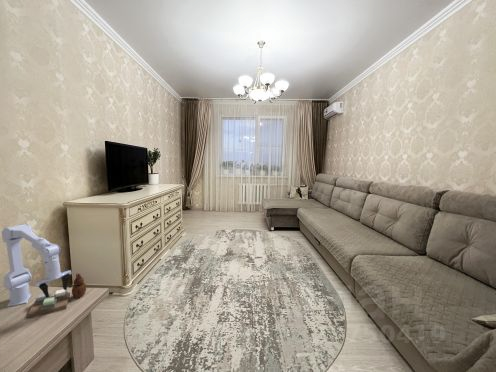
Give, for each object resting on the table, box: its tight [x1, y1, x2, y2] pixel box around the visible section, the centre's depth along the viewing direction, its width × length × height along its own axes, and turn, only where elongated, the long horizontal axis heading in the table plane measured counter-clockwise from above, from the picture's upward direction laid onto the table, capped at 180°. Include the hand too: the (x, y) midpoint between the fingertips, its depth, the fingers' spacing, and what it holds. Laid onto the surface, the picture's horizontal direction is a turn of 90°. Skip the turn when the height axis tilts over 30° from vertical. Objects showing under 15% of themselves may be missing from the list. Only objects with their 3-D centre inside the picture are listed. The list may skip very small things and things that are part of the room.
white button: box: [54, 288, 66, 297], centre depth 126 cm, size 4×4×2 cm
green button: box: [43, 297, 55, 306], centre depth 118 cm, size 4×4×2 cm
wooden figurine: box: [71, 273, 87, 299], centre depth 130 cm, size 7×6×15 cm
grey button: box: [36, 291, 50, 301], centre depth 122 cm, size 4×4×2 cm
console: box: [27, 290, 71, 319], centre depth 121 cm, size 14×15×4 cm
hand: (56, 293), depth 116 cm, fingers open, 7 cm apart
